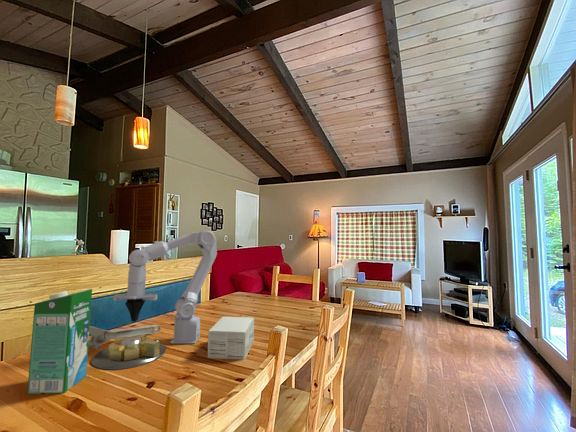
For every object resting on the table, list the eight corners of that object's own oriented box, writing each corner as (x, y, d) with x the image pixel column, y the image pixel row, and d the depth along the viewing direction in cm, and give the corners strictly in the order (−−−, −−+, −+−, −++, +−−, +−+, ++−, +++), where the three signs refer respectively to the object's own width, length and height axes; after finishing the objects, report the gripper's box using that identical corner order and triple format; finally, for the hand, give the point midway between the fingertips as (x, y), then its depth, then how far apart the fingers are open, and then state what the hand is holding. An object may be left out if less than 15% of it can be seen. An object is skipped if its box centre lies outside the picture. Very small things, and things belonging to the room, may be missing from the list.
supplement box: (221, 340, 111) (222, 316, 112) (254, 341, 110) (254, 317, 111) (206, 358, 94) (207, 330, 95) (244, 360, 93) (245, 331, 94)
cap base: (173, 342, 107) (174, 328, 108) (150, 369, 85) (151, 352, 86) (114, 342, 106) (115, 329, 106) (74, 370, 84) (75, 353, 84)
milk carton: (53, 376, 80) (60, 288, 82) (86, 375, 81) (92, 288, 83) (26, 394, 71) (35, 294, 73) (64, 393, 72) (71, 294, 74)
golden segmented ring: (129, 343, 103) (130, 331, 104) (169, 348, 99) (169, 336, 100) (98, 357, 91) (99, 344, 91) (142, 364, 87) (143, 350, 87)
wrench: (159, 339, 118) (76, 353, 95) (157, 338, 120) (74, 352, 96) (162, 319, 120) (81, 328, 96) (160, 318, 121) (79, 327, 97)
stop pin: (158, 354, 96) (159, 339, 97) (156, 355, 95) (157, 340, 95) (153, 354, 96) (154, 339, 97) (151, 356, 95) (152, 340, 95)
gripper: (110, 284, 98) (107, 324, 97) (153, 284, 99) (151, 323, 98) (119, 281, 105) (117, 318, 104) (160, 281, 106) (158, 317, 105)
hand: (134, 320), depth 101 cm, fingers closed
